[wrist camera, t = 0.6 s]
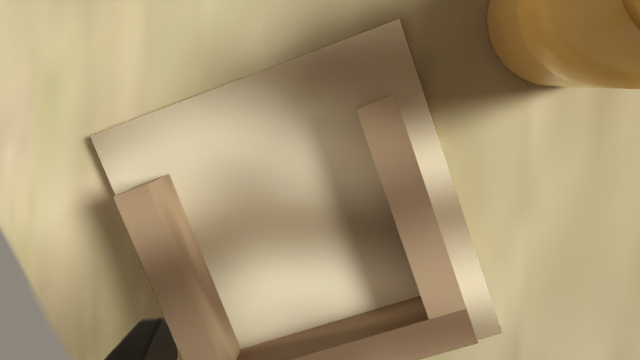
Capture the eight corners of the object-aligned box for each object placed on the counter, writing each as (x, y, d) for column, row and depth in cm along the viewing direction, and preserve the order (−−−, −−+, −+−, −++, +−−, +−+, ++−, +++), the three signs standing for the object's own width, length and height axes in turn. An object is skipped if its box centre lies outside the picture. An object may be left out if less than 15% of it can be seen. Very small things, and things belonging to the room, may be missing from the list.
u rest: (498, 326, 24) (517, 361, 21) (212, 407, 26) (192, 450, 23) (398, 20, 22) (403, 10, 19) (96, 134, 24) (58, 142, 21)
